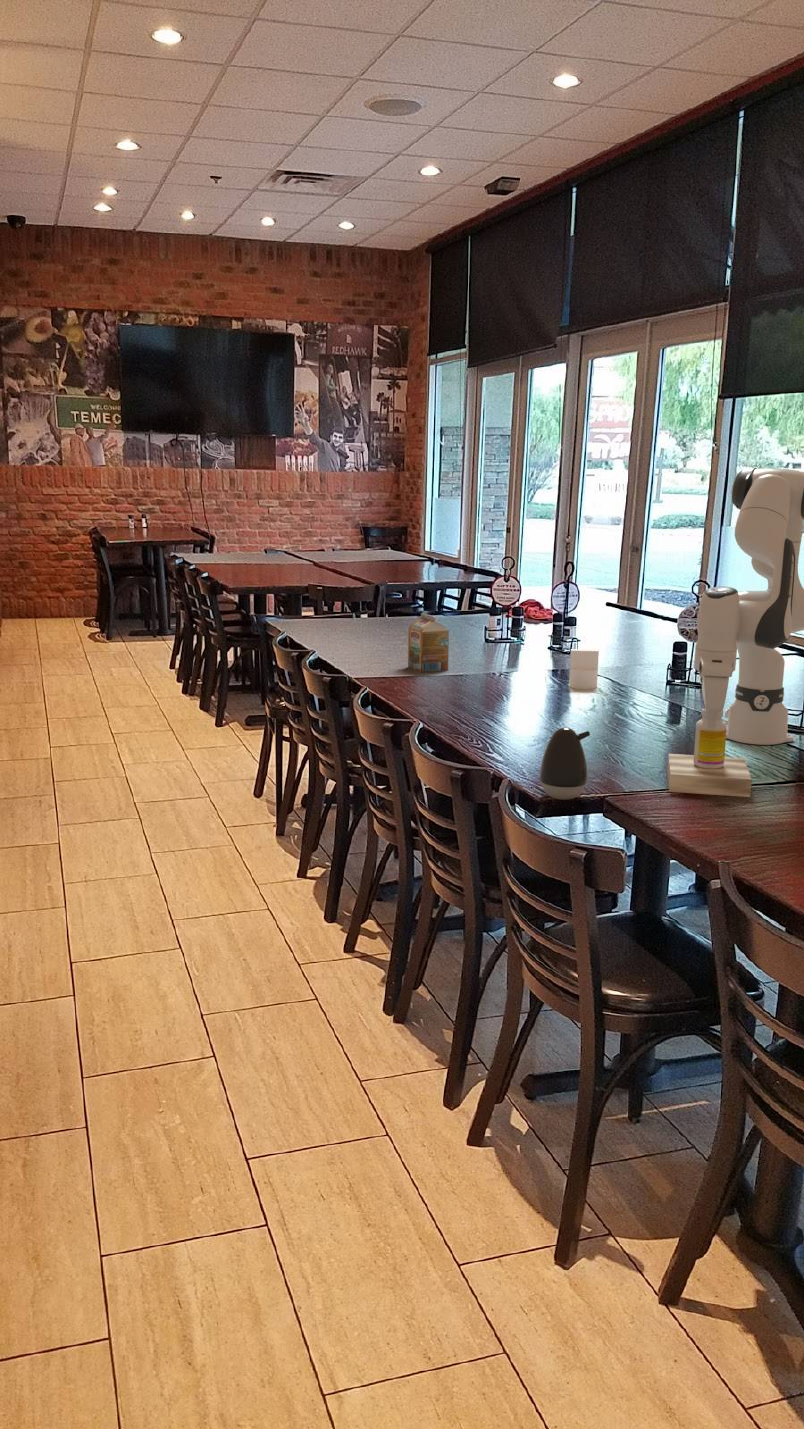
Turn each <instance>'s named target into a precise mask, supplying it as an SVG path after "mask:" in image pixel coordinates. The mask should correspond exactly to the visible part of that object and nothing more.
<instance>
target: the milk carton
mask: <svg viewBox="0 0 804 1429" xmlns="http://www.w3.org/2000/svg"><path fill="white" fill-rule="evenodd" d="M407 633H408V636H407V637H408V639H407V640H408V642H407V645H408V646H407V648H408V649H407V652H408V653H407V654H408V655H407V656H408V657H407V658H408V659H407V668H410V669H411V670H414V671H416V672H420V673H427V672H439V671H440V672H441V671H448V670H449V654H450V653H449V652H450V651H449V649H450V648H449V644H450V643H449V642H450V641H449V640H450V638H449V637H450V636H449V635H450V634H449V633H450V630H449V629H448V628H447V627H446V626H445V625H443V623H441V622H439V621H437V616H435V615H431V614H427V613H421V617H420V618H418V619H416V620H415V621H414V622H412V624H410V626H408V632H407Z"/></svg>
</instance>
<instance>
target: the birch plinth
mask: <svg viewBox="0 0 804 1429" xmlns="http://www.w3.org/2000/svg"><path fill="white" fill-rule="evenodd" d="M667 758H668V759H667V768H666V769H667V780H668V790H669V792H670V793H680V794H681V793H685V794H698V795H699V794H700V795H713V796H715V795H716V796H729V797H743V798H744V797H745V798H751V790H752V780H753V779H752V777H751V774H750V771H749V768H748V765H747V762H746V760H745V758H744V757H729V756H725V757H724V765H723V767H721V768H717V769H707V768H701V767H698V766H696V765H695V764H694V754H681V753H680V754H679V753H668V754H667Z"/></svg>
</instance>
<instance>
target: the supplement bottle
mask: <svg viewBox="0 0 804 1429" xmlns="http://www.w3.org/2000/svg"><path fill="white" fill-rule="evenodd" d="M723 716H724V710H723V711H722V712H718V717H717V721H716V728H708V726H707V721H708V711H706V708H705V707H704V708H701V719H699V720H698V721H697V722H696V723H695V733H694V734H695V736H694V750H693V755H694V764H695V765H696V766H698V767H701V768H707V769H717V768H721V767H723V765H724V757H726V756H725V754H726V742H727V741H726V740H727V738H726V730H727V726H726V721H723Z"/></svg>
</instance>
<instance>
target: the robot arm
mask: <svg viewBox="0 0 804 1429" xmlns="http://www.w3.org/2000/svg"><path fill="white" fill-rule="evenodd" d="M730 493H731V501H732V504H733V505H734V507H735V508H736V509H737V510H739V513H738V516H737V518H736V522H735V527H734V538H735V539H734V540H735V542H736V544H737V545H738V547H739V549H741V550H742V552H744V553H745V554H746V555H747V556H748V557H751V566H752V569H753V570H754V571H755V573H756V574H758V575H760V576H761V577H762V578H764V579H767V590H741V591H738V590H737V589H736V588H734V587H730V586H715V587H714V586H713V587H708V588H707V589H705V590H704V591H703V593H702V595H701V598H700V603H699V607H698V613H697V614H698V615H697V622H696V630H697V641H696V643H695V649H694V650H695V651H694V662H693V663H694V665H693V668H694V669H695V670H697V671H698V672H699V674H698V676H699V677H701V679H702V681H701V683H702V684H701V694H702V698H703V703H704V706H705V707H704V708H706V711H708V721H707V726H708V728H716V721H717V717H718V712H722V711H723V712H724V711H725V712H724V718H725V719H726V720H725V723H726V726H727V730H726V740H727V739H728V740H732V741H734V742H739V743H743V744H748V745H749V744H750V745H761V746H763V745H764V746H766V745H769V746H771V745H779V744H783V743H788V742H794V741H795V740H794V737H795V736H793V735H792V734H790V733H788V729H789V728H788V727H789V726H788V724H789V709H788V708H787V707H786V706H785V705H784V703H783V702H784V696H785V688H784V686H783V684H784V674H785V673H784V672H785V658H784V656H783V655H782V653H781V652H779V650H777V649H776V648H779V647H780V646H782V645H783V644H785V643H787V641H788V640H789V639H790V637H791V634H793V633H797V632H802V631H804V587H803V585H802V583H801V579H800V577H799V558H800V557H799V556H800V550H801V546H802V545H801V543H802V538H803V528H804V471H800V470H794V469H788V468H782V469H778V468H757V467H747V468H742V470H740V471H739V472H738V473H737V474H736V476H735V478H734V480H733V483H732V485H731V492H730ZM737 654H738V680H737V681H738V683H737V684H736V686H735V693H734V694H735V695H734V696H735V701H734V702H733V703H732V704H731V705H730V706H729V707H728V708H727V709H725V710H724V708H725V705H726V704H725V703H726V698H727V694H728V687H729V682H730V678H731V677H733V673H734V672H735V671H736V666H737Z"/></svg>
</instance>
